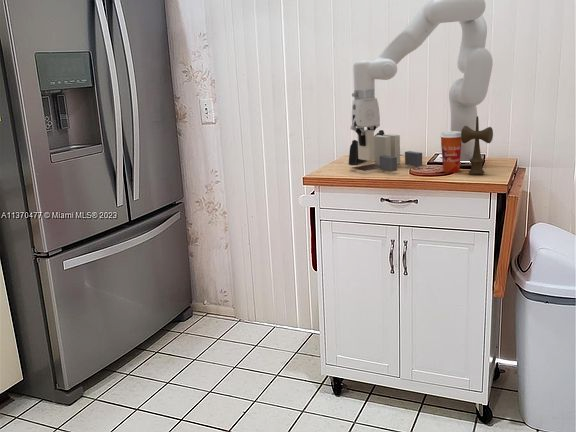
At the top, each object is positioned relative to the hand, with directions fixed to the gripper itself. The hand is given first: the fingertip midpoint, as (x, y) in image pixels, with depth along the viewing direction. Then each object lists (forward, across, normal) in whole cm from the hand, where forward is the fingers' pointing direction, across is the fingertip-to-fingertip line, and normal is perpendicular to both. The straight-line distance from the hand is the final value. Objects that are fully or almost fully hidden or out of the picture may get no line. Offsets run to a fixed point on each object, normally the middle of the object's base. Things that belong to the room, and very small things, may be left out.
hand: (365, 144), depth 223 cm
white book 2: (+9, +8, 0) cm, 12 cm away
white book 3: (+9, +12, 0) cm, 15 cm away
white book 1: (+6, 0, 0) cm, 6 cm away
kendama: (+10, +22, -34) cm, 42 cm away
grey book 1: (+10, +3, -9) cm, 14 cm away
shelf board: (+10, +5, 0) cm, 11 cm away
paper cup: (+10, +20, -24) cm, 33 cm away
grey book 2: (+10, +15, -9) cm, 20 cm away
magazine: (+10, +14, +16) cm, 23 cm away
